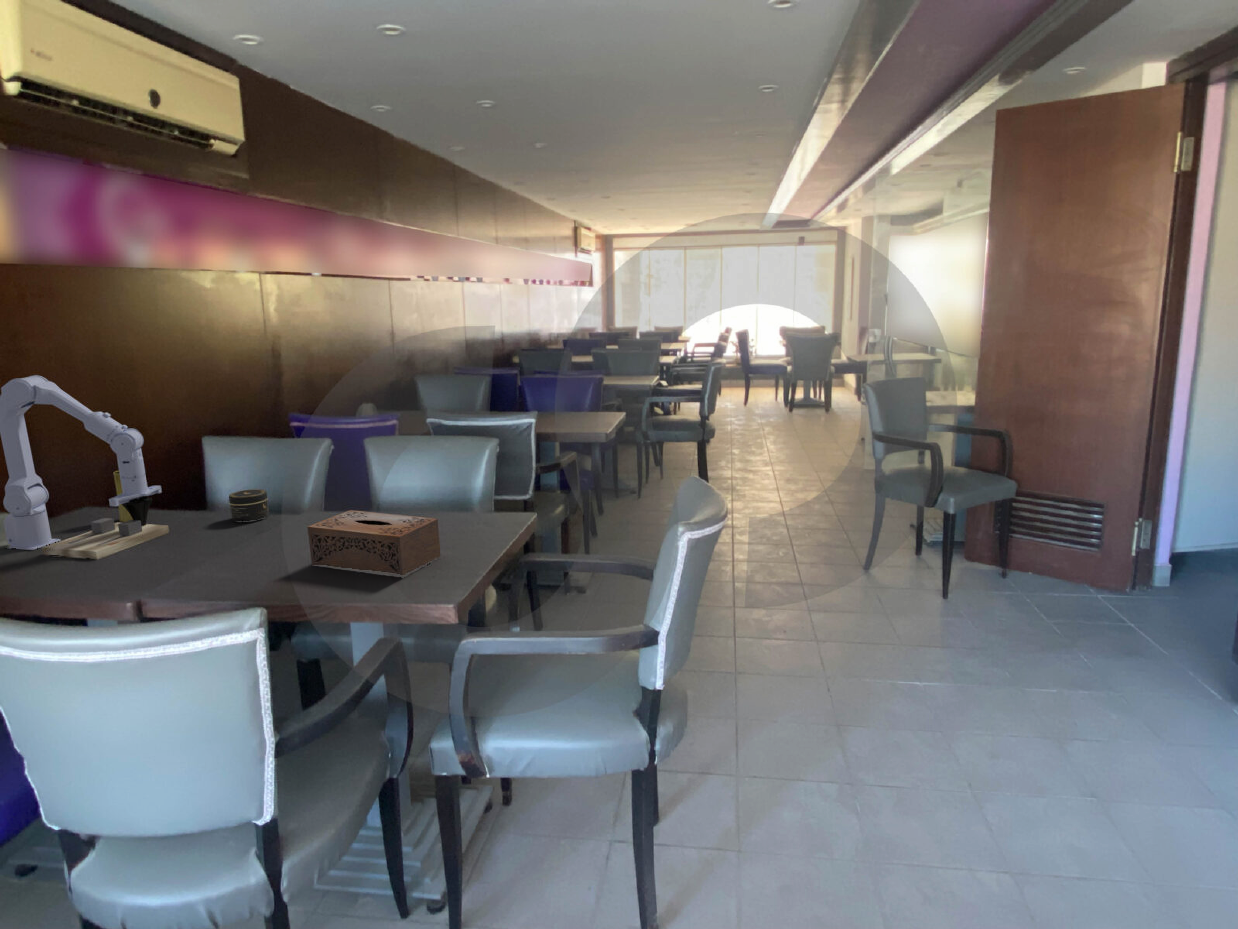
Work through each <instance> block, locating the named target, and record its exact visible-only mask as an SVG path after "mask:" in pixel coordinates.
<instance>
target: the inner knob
mask: <svg viewBox="0 0 1238 929" xmlns="http://www.w3.org/2000/svg"><path fill="white" fill-rule="evenodd" d="M114 523H115V520H114V518H110V517H109V518H108V517H103V518H99V519H96V520H94V521H90V528H91V531H92V533H97V534H103V533H106V532H109V531H112V530H115V524H114Z"/></svg>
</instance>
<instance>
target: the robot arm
mask: <svg viewBox="0 0 1238 929" xmlns="http://www.w3.org/2000/svg"><path fill="white" fill-rule="evenodd" d="M0 391H1V394H0V438H1V443H2V448H3V454H4V457H5V458H4V459H5V463H6V467H7V473H8V480H7V482H6V484H5V486H4V492H5V493H4V494H5V495H4V498H3V501H2V502H3V507H4V509H5V510H6V511H7V512H8V514H7V515H6V516H5V519H4V520H3V526H4V532H5V538H6V541H7V542H8V543H7V545H8V544H10V545H11V546H10V547H9V548H8V549H11V548H16V549H15V550H26V551H34V550H37V548H38V549H40V548H41V549H42V547H45V546H46V545H47V546H48V545H49V544H50V545H51V544H54V543H55V542H56V543H57V542H58V541H59V542H60V541H62V540H61V539H60V538H52V533H51V529H50V523H49V517H48V512H47V507H46V503H47V502H49V501H48V500H49V498H50V497H49V496H50V495H49V494H50V493H49V491H48V489H47V488H46V486H44V484H43V479H42V478H41V477H40V476H39V475H37V473H36V470H35V465H34V460H33V455H32V454H33V453H32V449H31V445H30V440H29V436H28V430H27V424H26V420H25V413H26V412H27V411H28V410H29V409H30V408H31V407H32V406H33V405H52V406H54V407H56V408H58V409H60V410H61V411H63V412H65V413H66V414H68V415H71V416H72V417H73V418H76V419H77V420H79V421H81V422H82V423H83V426H84V428H85V430H86V431H88V432H89V433H90V434H93V435H94V436H95V437H97V438H99V439H100V440H102V441H104V442H106V443H107V444H109V447H110V448H111V450H112V451H113V453H115V454H116V460H117V467H118V471H119V473H120V479H121V485H122V491H123V493H122V494H120V495H118V496H117V495H116V496H114V497H111V498H108V501H109V502H108V503H109V506H110V507H118V506H119V505H120V504H122V505H123V506H124V507H125V508H126V510H127V511H128V512H129V514H130V515H131V517H132V519H133V520H141V525H142V526H145V525H146V524H147V519H148V514H149V513H148V512H149V509H150V507H151V504H152V502H153V498H152V497H149V496H152V495H155V494H161V493H163V492H162V486H161V485H151V486H148V482H147V478H146V477H147V476H146V468H145V463H144V457H143V452H142V450H143V449H142V447H143V446H144V442H145V440H144V436H143V435H142V433H141V432H140V431H139V430H138V429H136V428H129V427H128V426H127V425H126V424H121V423H120V422H118V421H116V420H115V419H113V418H112V417H111V416H112V414H110V413H109V412H103V411H92V410H91V409H90V408H88V407H87V406H85V405H84V404H82V403H81V402H80V401H79V400H77V399H75V398H74V397H72V396H71V395H70V394H69V393H67V392H65V391H64V390H62V389H61V388H60V387H59V386H58V385H57V384H56V383H55V382H53V381H50V380H48V379H47V378H46V377H43V376H41V375H38V374H35V375H34V374H33V375H29V376H26V377H22V378H21V377H20V378H13V379H10V380H9V381H8V382H6V383H5V384H4V385H3V386H2V387H1V388H0Z"/></svg>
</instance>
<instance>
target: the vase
mask: <svg viewBox="0 0 1238 929" xmlns="http://www.w3.org/2000/svg"><path fill="white" fill-rule="evenodd" d="M113 478H114V484H115V491H116V496H118V495H120V494H122V493H123V491H122V485H121V479H120V473H119V470H116V471H113ZM117 507H118V512H119V522H121V523H123V522H126V521H129V520H133V519H132V517H131V515H130V514H129V512H128V511H127V510H126V508H125V507H124V506H123V505H122V504H120V505H119V506H117Z"/></svg>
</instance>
